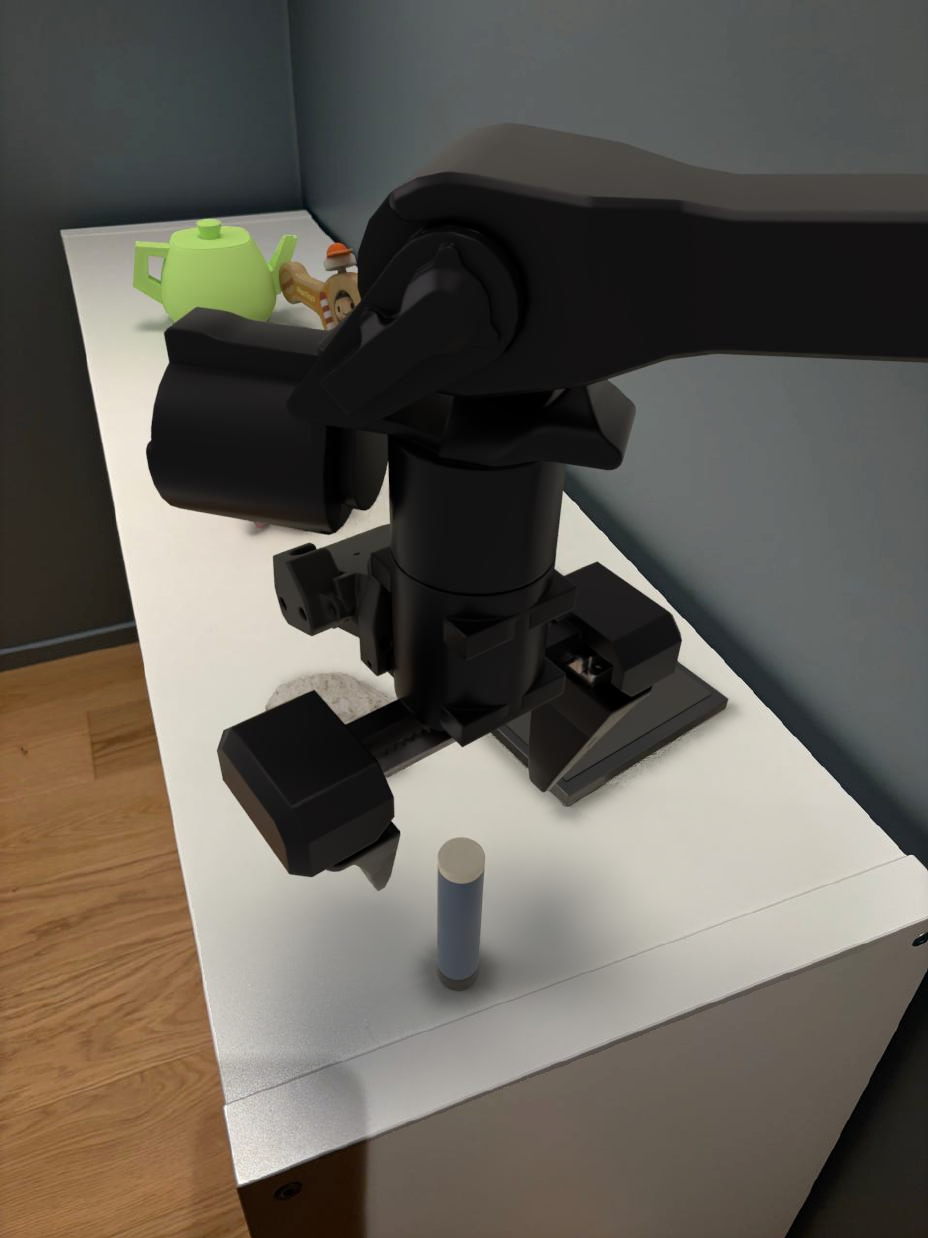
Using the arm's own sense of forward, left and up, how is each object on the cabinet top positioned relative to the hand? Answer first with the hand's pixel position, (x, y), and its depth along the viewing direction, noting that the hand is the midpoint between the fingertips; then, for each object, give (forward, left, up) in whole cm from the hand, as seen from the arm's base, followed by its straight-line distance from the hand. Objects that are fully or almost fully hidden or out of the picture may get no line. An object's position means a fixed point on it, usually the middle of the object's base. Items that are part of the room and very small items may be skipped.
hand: (461, 831), depth 42 cm
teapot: (+42, -82, -12) cm, 93 cm away
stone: (+10, -17, -12) cm, 23 cm away
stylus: (0, 0, -12) cm, 12 cm away
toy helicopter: (+26, -77, -12) cm, 82 cm away
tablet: (+1, -29, -12) cm, 31 cm away
